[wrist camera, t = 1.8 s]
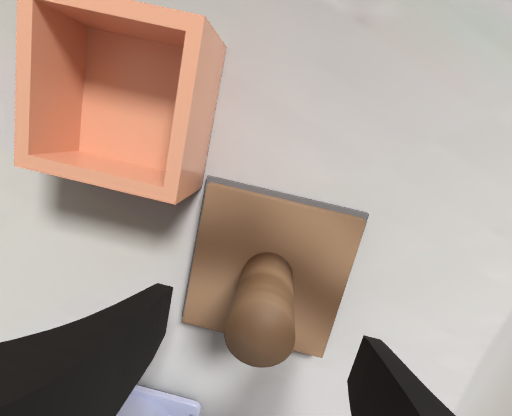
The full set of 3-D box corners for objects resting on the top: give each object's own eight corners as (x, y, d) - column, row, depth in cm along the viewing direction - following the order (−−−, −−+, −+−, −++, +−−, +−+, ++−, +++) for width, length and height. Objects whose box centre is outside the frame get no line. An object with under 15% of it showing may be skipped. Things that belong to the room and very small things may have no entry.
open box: (201, 187, 16) (175, 204, 13) (77, 158, 17) (14, 165, 13) (226, 47, 15) (204, 15, 11) (87, 16, 15) (17, -25, 11)
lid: (320, 347, 18) (336, 448, 12) (186, 313, 18) (141, 395, 12) (362, 217, 16) (405, 264, 10) (210, 181, 16) (170, 208, 10)
